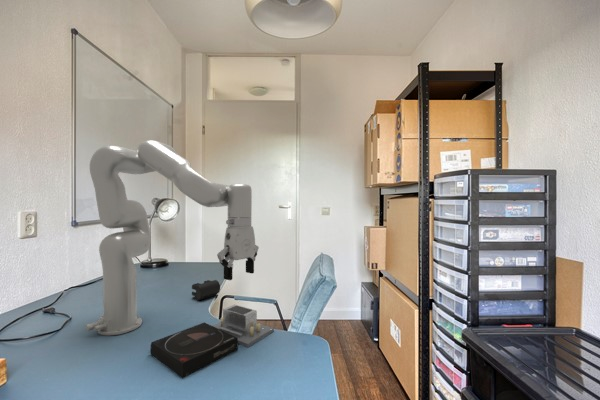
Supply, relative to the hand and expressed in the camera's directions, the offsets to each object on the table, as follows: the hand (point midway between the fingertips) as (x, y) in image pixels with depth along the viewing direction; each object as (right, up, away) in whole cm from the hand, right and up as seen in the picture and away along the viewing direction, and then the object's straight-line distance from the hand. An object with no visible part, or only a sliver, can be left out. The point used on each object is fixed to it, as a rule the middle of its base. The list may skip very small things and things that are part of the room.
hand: (239, 276), depth 93 cm
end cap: (-21, -18, +33) cm, 43 cm away
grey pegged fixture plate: (0, -18, 0) cm, 18 cm away
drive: (0, -17, 0) cm, 17 cm away
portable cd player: (-10, -19, -12) cm, 25 cm away
